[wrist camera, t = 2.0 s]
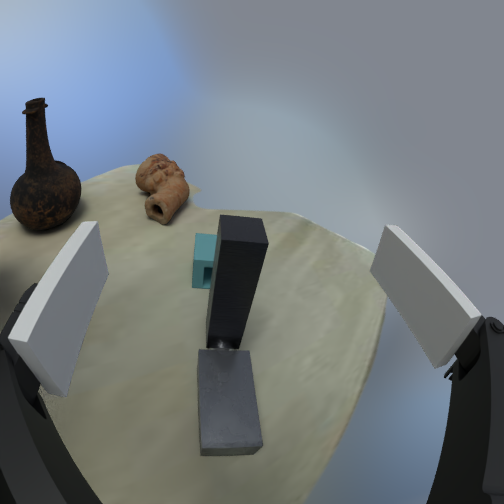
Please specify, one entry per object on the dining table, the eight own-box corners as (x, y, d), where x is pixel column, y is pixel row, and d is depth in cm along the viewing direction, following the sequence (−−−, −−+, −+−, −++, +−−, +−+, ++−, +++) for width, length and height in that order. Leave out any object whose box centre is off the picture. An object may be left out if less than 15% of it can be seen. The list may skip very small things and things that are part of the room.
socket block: (239, 290, 47) (246, 263, 43) (192, 287, 45) (193, 259, 42) (236, 263, 52) (242, 237, 49) (193, 260, 51) (195, 233, 47)
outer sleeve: (253, 454, 26) (263, 445, 23) (200, 455, 24) (201, 448, 22) (242, 369, 35) (249, 350, 32) (197, 369, 34) (198, 349, 31)
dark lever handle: (244, 438, 26) (298, 358, 15) (208, 438, 26) (229, 359, 14) (231, 314, 41) (256, 199, 30) (204, 312, 40) (219, 195, 29)
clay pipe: (194, 205, 74) (149, 178, 73) (210, 173, 68) (162, 145, 66) (160, 240, 59) (108, 206, 57) (175, 201, 53) (118, 166, 51)
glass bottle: (95, 203, 60) (93, 88, 43) (60, 246, 46) (42, 104, 29) (42, 197, 58) (34, 95, 41) (4, 236, 43) (-18, 115, 27)
